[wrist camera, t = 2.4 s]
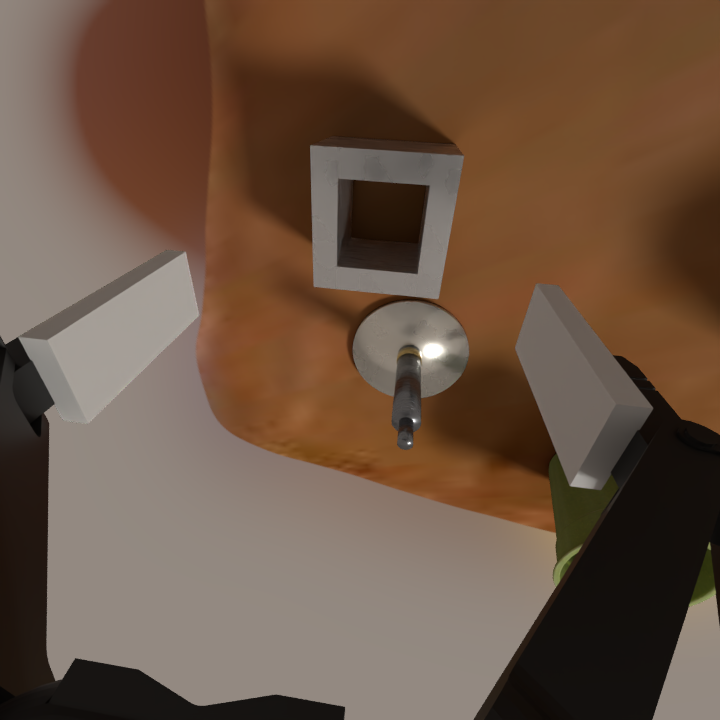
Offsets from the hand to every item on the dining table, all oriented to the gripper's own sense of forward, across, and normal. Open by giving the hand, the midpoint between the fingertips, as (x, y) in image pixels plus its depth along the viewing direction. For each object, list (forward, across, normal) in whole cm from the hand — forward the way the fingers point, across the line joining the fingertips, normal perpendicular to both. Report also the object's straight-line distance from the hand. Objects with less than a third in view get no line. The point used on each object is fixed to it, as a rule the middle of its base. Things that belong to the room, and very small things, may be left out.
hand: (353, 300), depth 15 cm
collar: (+15, 0, 0) cm, 15 cm away
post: (+15, +3, -12) cm, 19 cm away
